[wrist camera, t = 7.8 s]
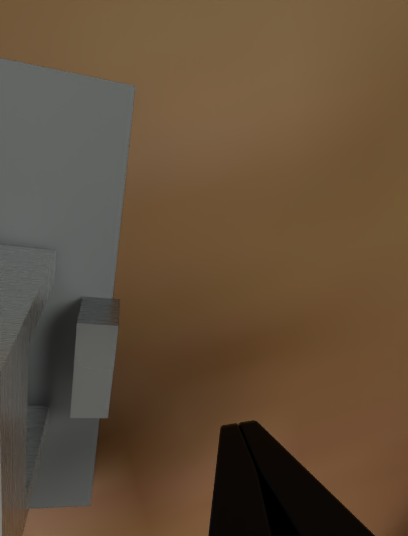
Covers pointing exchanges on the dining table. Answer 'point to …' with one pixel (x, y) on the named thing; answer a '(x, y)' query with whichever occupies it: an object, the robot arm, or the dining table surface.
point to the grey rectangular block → (20, 379)
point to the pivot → (94, 357)
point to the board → (63, 237)
